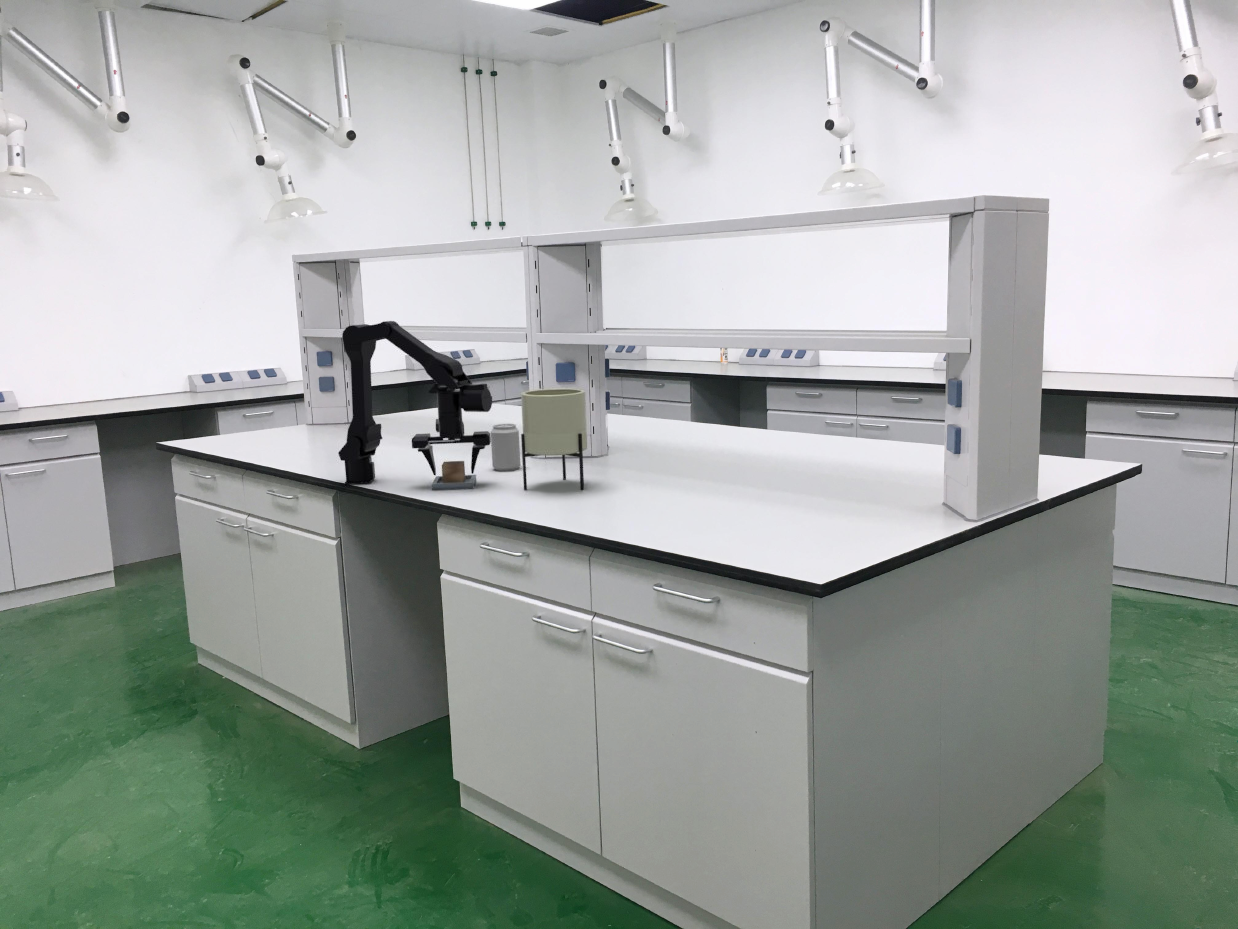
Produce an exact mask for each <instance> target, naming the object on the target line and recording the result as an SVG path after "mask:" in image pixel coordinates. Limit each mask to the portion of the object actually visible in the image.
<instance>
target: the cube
mask: <svg viewBox="0 0 1238 929" xmlns="http://www.w3.org/2000/svg"><path fill="white" fill-rule="evenodd" d="M465 468H466V467H465V460H458V461H457V460H455V461H454V460H451V461H443V463H442V464H441V476H442V478H443V483H455V482H465V475H466V472H465V471H466V469H465Z"/></svg>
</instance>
